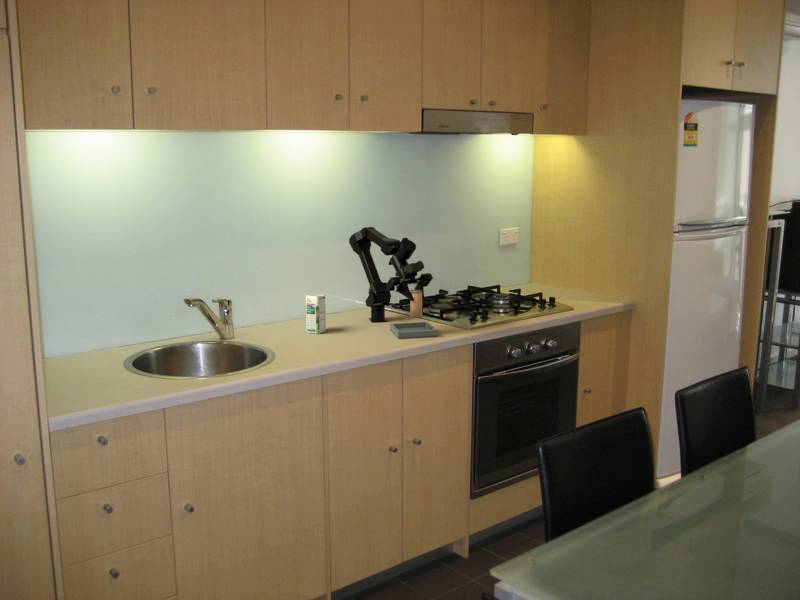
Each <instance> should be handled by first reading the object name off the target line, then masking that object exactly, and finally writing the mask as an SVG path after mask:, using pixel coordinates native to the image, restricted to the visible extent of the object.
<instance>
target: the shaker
mask: <svg viewBox="0 0 800 600" xmlns="http://www.w3.org/2000/svg"><path fill="white" fill-rule="evenodd" d="M410 292H411V294H412V296H413V299H414V300H413V301H411V300H409V302H410V303H409V305H410V307H409V311H410V312H409V313H410V316H409V317H411V318H416V319H417V318H418V319H419V318H422V317H423V300H422V290H415V289H411V290H410Z"/></svg>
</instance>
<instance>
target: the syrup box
mask: <svg viewBox="0 0 800 600" xmlns="http://www.w3.org/2000/svg"><path fill="white" fill-rule="evenodd" d="M326 312H327V311H326V295H323V294H307V295H305V315H306V316H305V318H306V320H305V321H306V328H305V329H306V334H308V333H309V334H316V335H320V334H323V333H325V332H326V331H327V318H326V317H327V316H326V315H327V313H326Z"/></svg>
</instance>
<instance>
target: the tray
mask: <svg viewBox="0 0 800 600" xmlns="http://www.w3.org/2000/svg"><path fill="white" fill-rule="evenodd" d="M389 331H390V332H391V333H392V334H393V335H394V336H395V337H396V338H397V339H398V340H405V339H406V340H407V339H421V338H422V339H423V338H436V337H438V330H437V329H436V328H435V327H434V326H433V325H432V324H431V323H429V322H428V321H417V322H414V321H413V322H400V323H398V322H396V323H390V324H389Z"/></svg>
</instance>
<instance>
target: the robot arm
mask: <svg viewBox="0 0 800 600" xmlns="http://www.w3.org/2000/svg"><path fill="white" fill-rule="evenodd" d="M348 239H349V240H348V243H349V245H350V248H351V249H352V251H353V252H354V253H355V254H357V255H358V257H359V259H360V263H361V265H362V268H363V270H364V274H365V275H366V280H367V281H368V284H369V289H368V292H367V293H368V296H367V298H366V300H364V301H365V306H366V307H368V308H370V317H369V318H368V320H369V321H370V322H371V323H379V322H380V323H381V322H388V320H387V319H386V311H385V310H386V306H390V303H391V299H392V294H391V292H394V291H395V292H396V293H399V294H401V295H402V296H404V297H405V298H407V299H408V300H409V301H410V300H411V301H413V300H414V299H413V296H412V294H411V290H410V288H409V285H414V286H415V287H414V290H422V301H423V300H424V299H425V291H424V288H426V287H428V286H429V284H430V283H431V282H432V280H433V278H434V277H433V275H432V273H429V272H426V273H421V274H420V275H419V274H418V273H419V272H421V271H422V270H424V269H425V264H424V263H423V261H422V260H418V261H416V262H413V263H409V262H408V261H409V260H410V259H411V257H412V256H413V254H414V253H415V251H416V249H417V244H416V243H415V242H413V241H412V240H411V239H409V238H408V237H402V239H401V240H399V239H397V238H392V237H391V238H390V237H388V236H386V235H385V234H383V233H382V232H380V231H378V230H377V229H376V228H375V227H373V226H367V227H365V226H364V227H363V228H361V229H360V230H358V231H357V232H354V233H352V234H351V235H350V236H349V238H348ZM372 243H374V244H375V245H376V246H378V247H379V248H380V251H381V253H382V254H384V255H385V256H391V257H389V261H388V265H389V266H393V268H394V270H395V274H394V275H395V276H394V277H393V276H392V277H390V278H389V279H388V280H387V282H383V281H382V280H381V277H380V275H379V272H378V269H377V267H376V264H375V261H374V258H373V256H372V253H371V247H372ZM418 275H419V276H418ZM417 276H418V277H417Z"/></svg>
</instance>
